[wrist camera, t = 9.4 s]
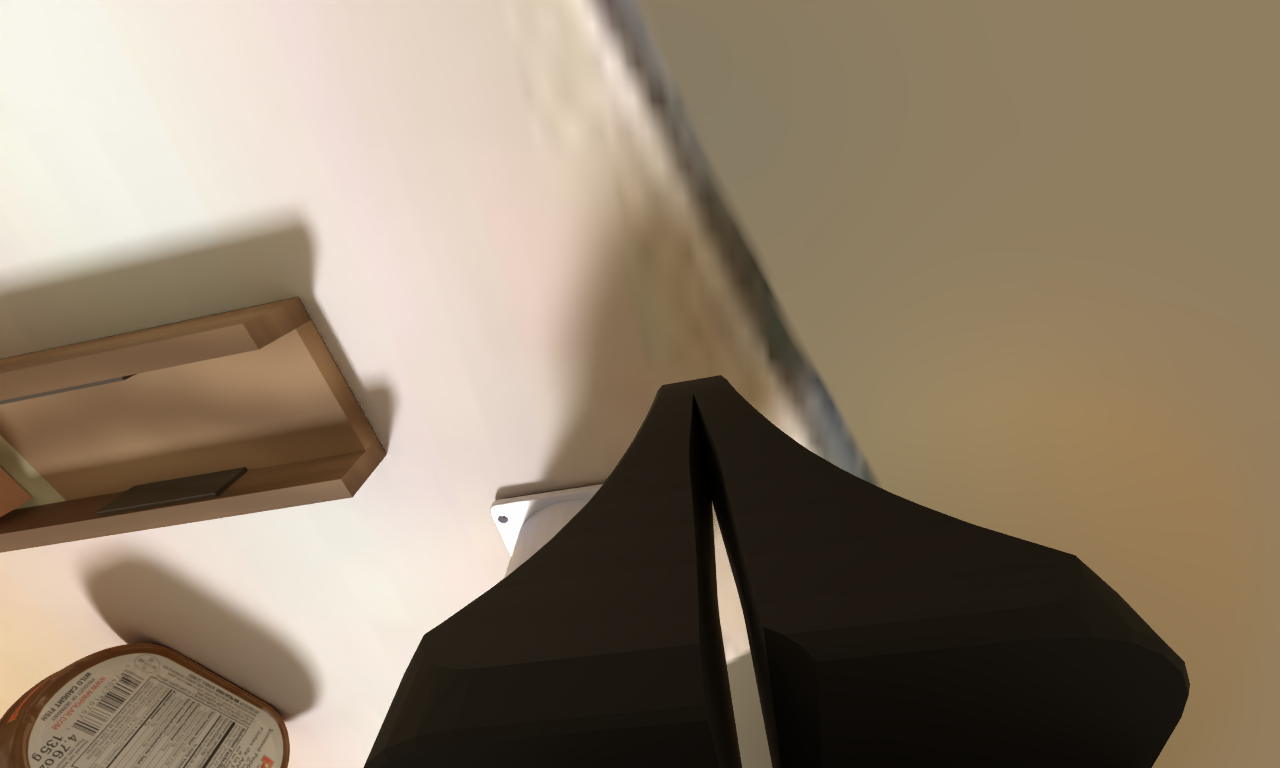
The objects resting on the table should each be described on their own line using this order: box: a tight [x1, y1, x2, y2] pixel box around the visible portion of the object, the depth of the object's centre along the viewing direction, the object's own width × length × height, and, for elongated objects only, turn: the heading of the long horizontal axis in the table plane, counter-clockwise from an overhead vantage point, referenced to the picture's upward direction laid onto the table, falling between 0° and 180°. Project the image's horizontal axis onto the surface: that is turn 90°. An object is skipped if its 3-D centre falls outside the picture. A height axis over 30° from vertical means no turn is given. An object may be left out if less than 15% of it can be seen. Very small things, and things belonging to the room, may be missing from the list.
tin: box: [0, 643, 290, 768], centre depth 29 cm, size 15×3×8 cm, turn 34°
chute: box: [0, 297, 386, 553], centre depth 21 cm, size 8×23×3 cm, turn 102°
